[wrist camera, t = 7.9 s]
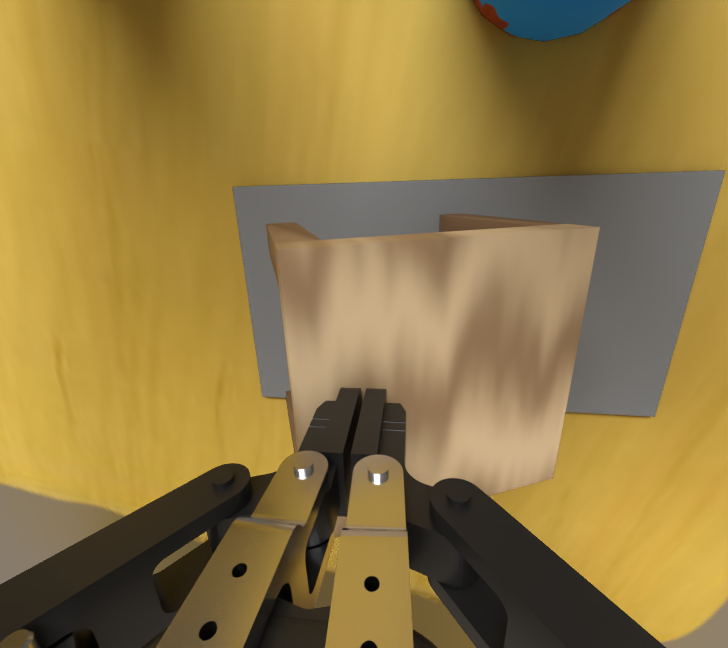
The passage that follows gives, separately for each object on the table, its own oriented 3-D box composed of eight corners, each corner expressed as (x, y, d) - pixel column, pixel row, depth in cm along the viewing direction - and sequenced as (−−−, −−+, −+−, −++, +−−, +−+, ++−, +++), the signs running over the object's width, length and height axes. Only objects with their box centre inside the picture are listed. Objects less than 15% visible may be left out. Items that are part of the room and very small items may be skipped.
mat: (235, 186, 25) (232, 186, 24) (719, 170, 21) (725, 170, 20) (264, 393, 30) (262, 396, 30) (651, 413, 26) (654, 416, 26)
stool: (462, 213, 23) (265, 223, 20) (599, 227, 14) (277, 249, 11) (452, 382, 27) (287, 412, 24) (552, 478, 18) (309, 544, 15)
